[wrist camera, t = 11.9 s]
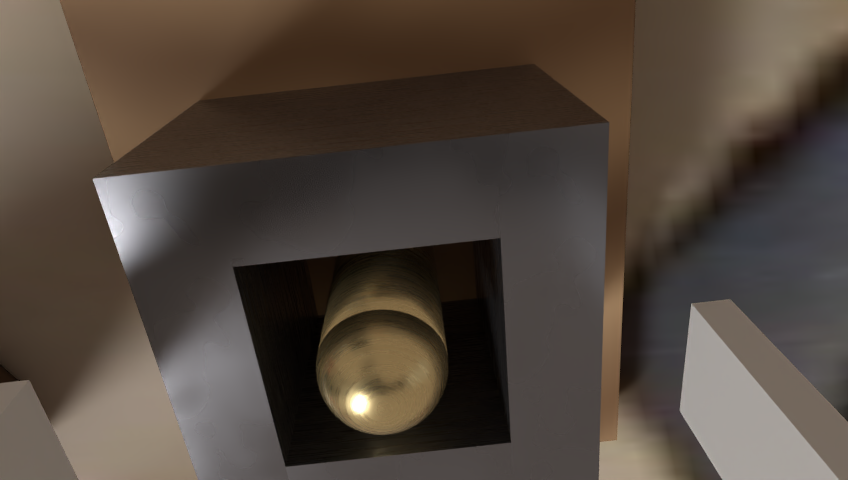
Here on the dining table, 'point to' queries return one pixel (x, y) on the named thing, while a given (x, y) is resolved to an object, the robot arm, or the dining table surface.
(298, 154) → the grey square socket block
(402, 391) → the post
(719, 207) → the dining table surface
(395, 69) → the board
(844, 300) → the dining table surface
